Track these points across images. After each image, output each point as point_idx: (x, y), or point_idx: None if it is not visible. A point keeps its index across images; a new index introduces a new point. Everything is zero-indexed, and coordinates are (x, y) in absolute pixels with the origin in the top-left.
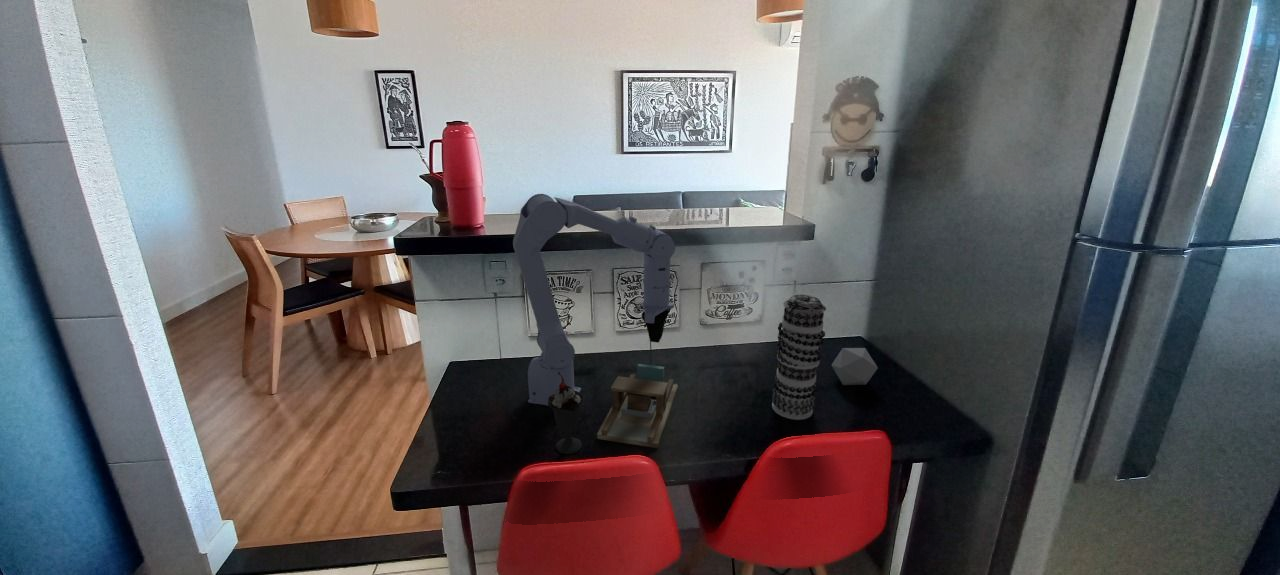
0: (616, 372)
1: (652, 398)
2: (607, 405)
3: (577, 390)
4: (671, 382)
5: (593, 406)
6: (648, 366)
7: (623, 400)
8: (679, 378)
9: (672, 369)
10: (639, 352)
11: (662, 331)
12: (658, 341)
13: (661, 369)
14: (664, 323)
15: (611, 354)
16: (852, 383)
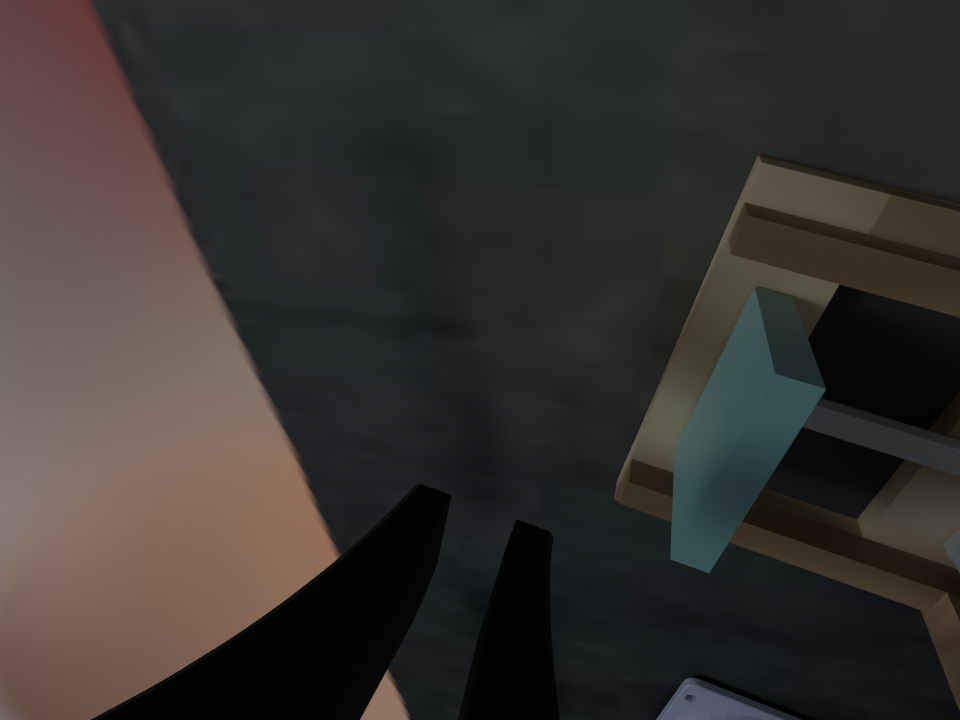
0: (504, 511)
1: (898, 372)
2: (890, 608)
3: (715, 701)
4: (806, 241)
5: (879, 661)
6: (736, 502)
7: (956, 580)
8: (582, 126)
9: (440, 176)
10: (259, 370)
11: (406, 567)
12: (550, 549)
13: (812, 401)
14: (305, 654)
15: (317, 503)
16: None
